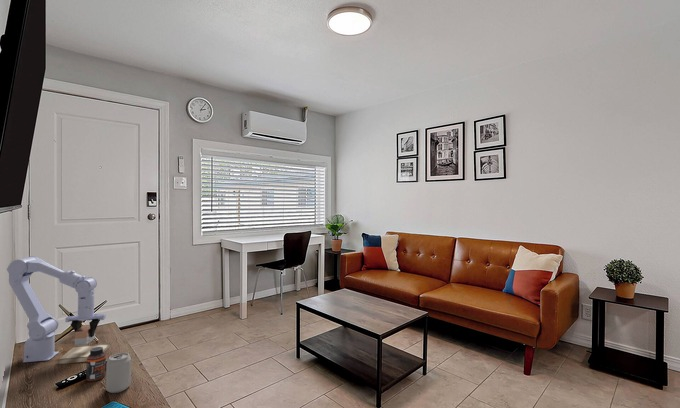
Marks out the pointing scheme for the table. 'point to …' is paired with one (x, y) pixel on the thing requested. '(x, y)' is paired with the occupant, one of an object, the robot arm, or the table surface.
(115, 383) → the can
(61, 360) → the stand board
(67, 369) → the table surface
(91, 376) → the supplement bottle
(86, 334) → the housing
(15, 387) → the table surface
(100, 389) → the table surface
